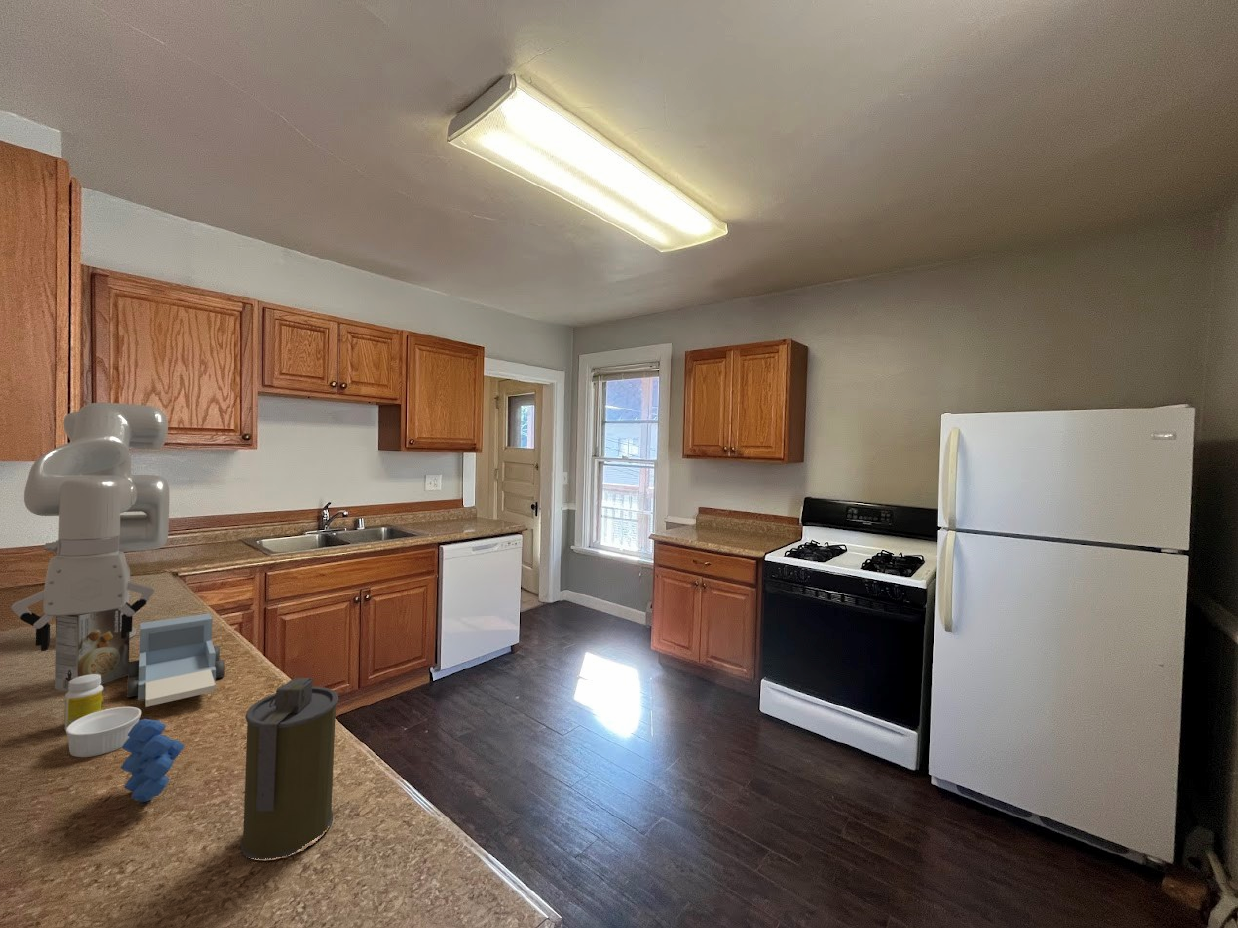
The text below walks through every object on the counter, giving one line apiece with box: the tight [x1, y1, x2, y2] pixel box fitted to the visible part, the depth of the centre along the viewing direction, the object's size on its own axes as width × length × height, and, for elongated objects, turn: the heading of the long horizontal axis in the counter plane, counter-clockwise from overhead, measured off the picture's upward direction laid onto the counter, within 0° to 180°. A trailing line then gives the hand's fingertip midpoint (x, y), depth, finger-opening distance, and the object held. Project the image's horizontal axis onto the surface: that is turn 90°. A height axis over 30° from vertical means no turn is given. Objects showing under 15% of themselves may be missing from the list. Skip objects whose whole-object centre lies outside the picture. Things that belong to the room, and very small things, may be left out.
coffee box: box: [54, 602, 131, 693], centre depth 104 cm, size 9×6×16 cm
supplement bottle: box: [63, 674, 104, 731], centre depth 89 cm, size 5×5×8 cm
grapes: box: [120, 718, 186, 803], centre depth 72 cm, size 12×7×12 cm, turn 59°
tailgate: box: [144, 669, 217, 708], centre depth 98 cm, size 1×10×11 cm
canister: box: [240, 677, 339, 859], centre depth 67 cm, size 11×10×20 cm
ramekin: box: [65, 706, 142, 758], centre depth 84 cm, size 9×9×4 cm
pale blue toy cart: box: [126, 612, 226, 701], centre depth 108 cm, size 16×15×11 cm
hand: (86, 642), depth 89 cm, fingers open, 9 cm apart
